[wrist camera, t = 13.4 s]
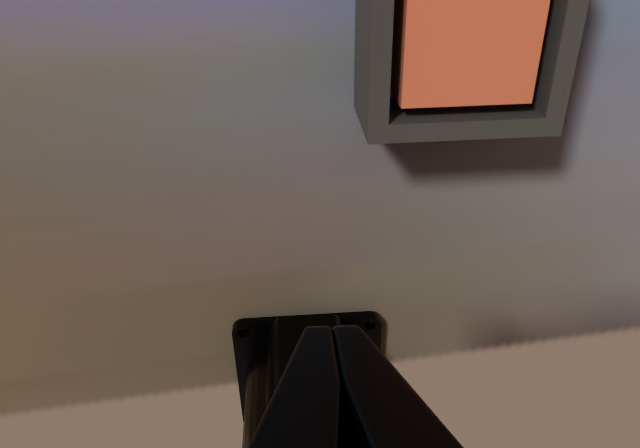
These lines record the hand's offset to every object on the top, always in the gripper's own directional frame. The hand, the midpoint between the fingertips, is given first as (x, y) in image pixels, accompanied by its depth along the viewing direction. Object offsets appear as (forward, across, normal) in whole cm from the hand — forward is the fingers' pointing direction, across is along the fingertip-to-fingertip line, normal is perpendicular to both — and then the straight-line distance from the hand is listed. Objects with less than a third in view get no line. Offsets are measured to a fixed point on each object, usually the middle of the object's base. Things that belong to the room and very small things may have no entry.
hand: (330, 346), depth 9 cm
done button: (+11, -5, -3) cm, 13 cm away
